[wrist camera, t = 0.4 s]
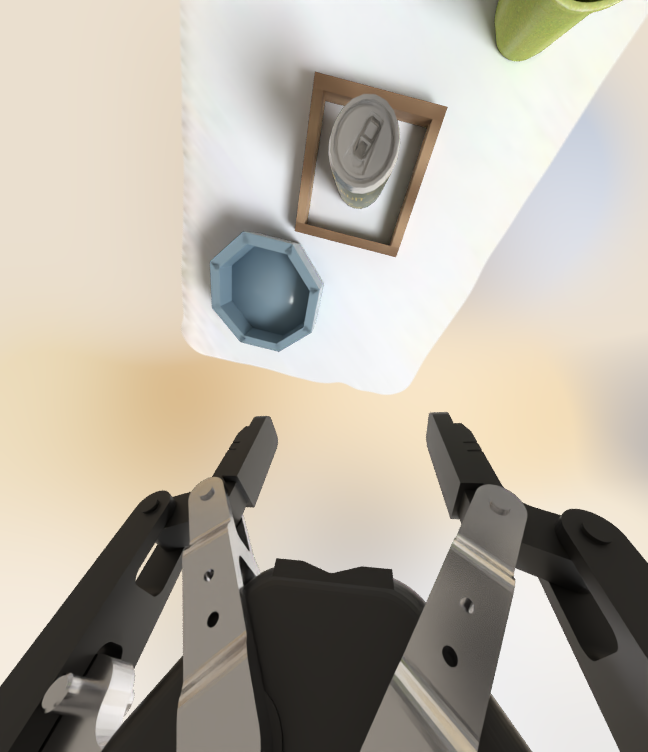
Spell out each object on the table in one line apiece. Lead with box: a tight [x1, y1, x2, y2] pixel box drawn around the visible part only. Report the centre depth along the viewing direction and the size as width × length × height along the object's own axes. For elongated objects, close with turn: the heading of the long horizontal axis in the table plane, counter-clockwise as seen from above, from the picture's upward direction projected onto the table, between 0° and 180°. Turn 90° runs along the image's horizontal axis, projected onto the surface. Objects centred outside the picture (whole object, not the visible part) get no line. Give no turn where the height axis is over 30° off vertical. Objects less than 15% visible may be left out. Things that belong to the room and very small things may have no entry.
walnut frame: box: [295, 72, 447, 257], centre depth 26 cm, size 13×13×2 cm
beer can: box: [328, 94, 400, 209], centre depth 22 cm, size 5×5×12 cm
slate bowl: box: [210, 231, 324, 352], centre depth 32 cm, size 14×14×4 cm
